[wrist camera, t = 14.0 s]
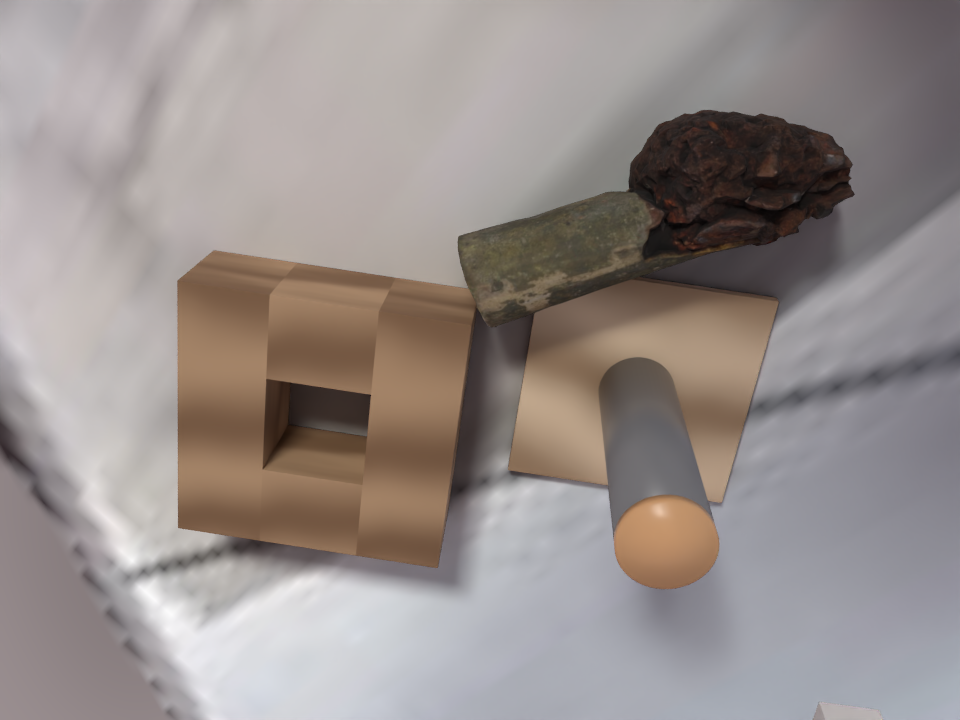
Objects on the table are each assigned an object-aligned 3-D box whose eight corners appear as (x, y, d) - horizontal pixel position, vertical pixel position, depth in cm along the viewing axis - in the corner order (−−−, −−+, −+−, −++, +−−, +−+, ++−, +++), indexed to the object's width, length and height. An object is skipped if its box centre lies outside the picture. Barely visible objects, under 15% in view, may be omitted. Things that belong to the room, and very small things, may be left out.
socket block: (213, 250, 47) (177, 280, 43) (479, 290, 47) (471, 325, 42) (210, 479, 53) (178, 527, 48) (447, 515, 53) (437, 568, 48)
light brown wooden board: (542, 262, 46) (542, 266, 46) (776, 297, 46) (778, 301, 45) (508, 464, 51) (507, 470, 50) (719, 497, 51) (721, 502, 50)
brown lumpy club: (493, 315, 47) (486, 350, 41) (449, 191, 45) (436, 210, 39) (839, 206, 44) (879, 228, 38) (807, 67, 42) (846, 70, 36)
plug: (606, 351, 47) (626, 495, 34) (682, 364, 47) (730, 512, 34) (591, 418, 49) (605, 580, 36) (665, 431, 49) (704, 596, 36)
